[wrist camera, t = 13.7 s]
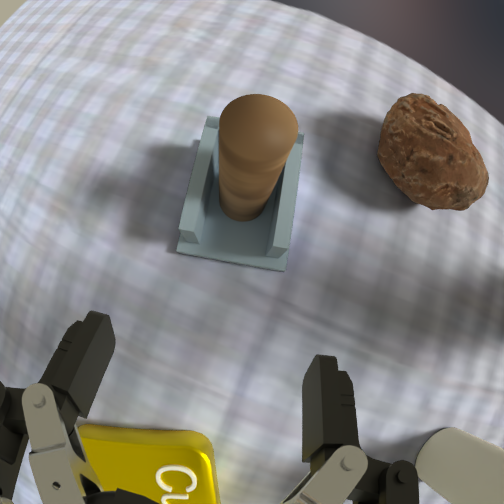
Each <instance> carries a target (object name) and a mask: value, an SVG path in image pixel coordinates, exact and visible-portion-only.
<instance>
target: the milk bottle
mask: <svg viewBox="0 0 504 504" xmlns="http://www.w3.org/2000/svg"><path fill="white" fill-rule="evenodd" d="M415 467H416V470H417V473H418V477H419V478H420V479H421V480H422V481H423V482H424V483H426V484H427V485H428V486H429V487H431V488H432V489H433V490H434V491H436V492H437V493H438V494H440V495H441V496H442V497H443V498H445V499H446V500H447V501H449V502H450V503H451V504H504V449H503V448H501V447H498V446H496V445H494V444H492V443H489V442H487V441H485V440H482V439H480V438H478V437H476V436H473V435H471V434H469V433H467V432H465V431H462V430H460V429H457V428H453V427H452V428H446V429H443V430H440V431H439V432H437V433H435V434H434V435H433V436H432V437H431V438H430V439H429V440H428V441H427V442H426V443H425V444H424V446H423V447H422V449H421V450H420V452H419V454H418V456H417V460H416V465H415Z"/></svg>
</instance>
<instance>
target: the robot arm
mask: <svg viewBox="0 0 504 504" xmlns="http://www.w3.org/2000/svg"><path fill="white" fill-rule="evenodd" d="M114 349H115V335H114V332H113V328H112V324H111V320H110V316H109V315H107V314H103V313H99V312H96V311H90V312H89V313H88V314H87V316H86V318H85V320H84V321H83V322H82V321H78V320H77V321H76V322H75V323H74V324H73V325H71V326H70V327H69V328H68V329H67V331H66V333H65V335H64V336H63V338H62V341H61V342H60V344H59V345H58V349H56V351H55V353H54V355H53V356H52V358H51V360H50V362H49V364H48V366H47V368H46V370H45V372H44V374H43V376H42V378H41V379H40V381H39V382H38V383H36V384H32V385H30V386H29V387H27V388H26V389H20V388H10V387H5V386H4V385H3V384H2V382H1V381H0V504H14V503H13V502H12V497H13V493H14V489H15V485H16V481H17V477H18V474H19V470H20V466H21V463H22V459H23V456H24V453H25V450H26V446H27V443H28V440H29V439H30V443H31V448H32V451H31V452H30V453H29V462H30V466H31V469H32V472H33V476H34V479H35V482H36V485H37V488H38V491H39V494H40V497H41V500H42V502H43V504H159V503H157V502H155V501H153V500H151V499H149V498H147V497H146V496H143V495H139V494H136V493H133V492H129V491H126V490H123V489H120V488H117V490H116V491H104V490H103V488H102V486H101V483H100V481H99V479H98V477H97V475H96V473H95V471H94V470H93V468H92V467H91V465H90V463H89V460H88V458H87V455H86V452H85V450H84V447H83V444H82V441H81V438H80V435H79V432H78V429H77V426H76V420H77V417H78V416H80V417H83V418H86V419H87V416H88V414H89V411H90V408H91V406H92V403H93V401H94V398H95V396H96V393H97V391H98V388H99V386H100V383H101V381H102V378H103V376H104V373H105V371H106V369H107V366H108V364H109V362H110V359H111V357H112V355H113V352H114ZM302 462H306V463H310V471H309V472H308V474H307V475H306V476H305V477H304V478H303V479H302V480H301V481H300V483H299V484H298V485H297V486H296V487H295V488H294V489H293V490H292V491H291V492H290V493H289V494H288V496H287V497H286V498H285V499H284V500H283V501H282V502H281V503H280V504H343V502H344V501H345V500H346V499H348V500H352V501H353V504H419V486H418V473H417V470H416V468H415V467H414V465H413V464H412V463H410V462H408V461H404V460H401V461H397V462H395V463H393V464H390V463H386V462H382V461H379V460H375V459H372V458H370V457H369V456H367V455H366V454H365V453H364V452H363V451H362V449H361V447H360V444H359V439H358V428H357V418H356V408H355V399H354V391H353V383H352V381H351V379H350V377H349V375H348V374H347V372H346V371H338V364H337V358H336V357H335V356H326V355H316V356H315V357H314V359H313V361H312V363H311V365H310V366H309V368H308V370H307V372H306V374H305V376H304V379H303V385H302ZM59 488H60V489H59Z"/></svg>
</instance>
